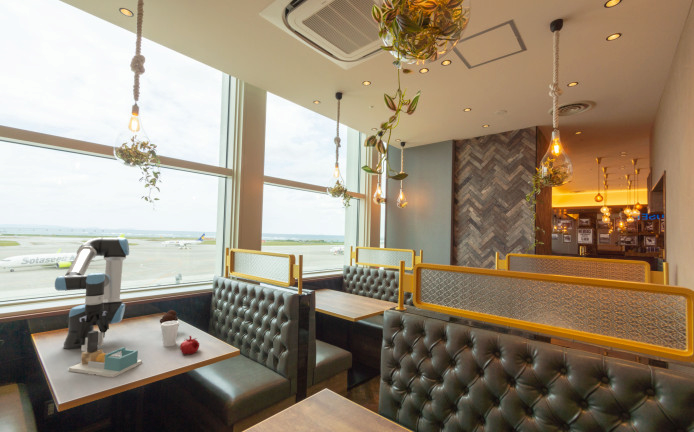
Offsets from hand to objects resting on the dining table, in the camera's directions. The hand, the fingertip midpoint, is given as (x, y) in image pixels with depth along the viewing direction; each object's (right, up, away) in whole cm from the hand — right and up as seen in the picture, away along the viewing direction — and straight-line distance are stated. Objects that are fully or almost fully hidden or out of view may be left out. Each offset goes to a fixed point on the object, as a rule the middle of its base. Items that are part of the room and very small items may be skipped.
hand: (92, 347), depth 159 cm
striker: (0, -7, 0) cm, 7 cm away
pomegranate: (+41, -10, +17) cm, 46 cm away
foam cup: (+23, -10, +28) cm, 38 cm away
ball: (+6, -5, -2) cm, 8 cm away
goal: (+18, -7, -4) cm, 20 cm away
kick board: (+10, -9, -3) cm, 13 cm away
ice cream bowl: (+11, -11, +48) cm, 51 cm away
